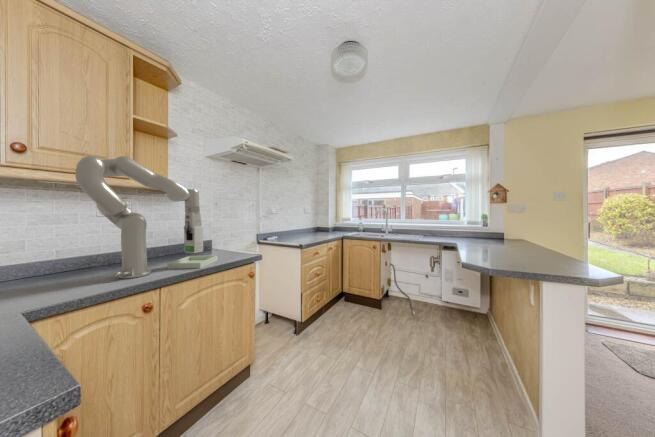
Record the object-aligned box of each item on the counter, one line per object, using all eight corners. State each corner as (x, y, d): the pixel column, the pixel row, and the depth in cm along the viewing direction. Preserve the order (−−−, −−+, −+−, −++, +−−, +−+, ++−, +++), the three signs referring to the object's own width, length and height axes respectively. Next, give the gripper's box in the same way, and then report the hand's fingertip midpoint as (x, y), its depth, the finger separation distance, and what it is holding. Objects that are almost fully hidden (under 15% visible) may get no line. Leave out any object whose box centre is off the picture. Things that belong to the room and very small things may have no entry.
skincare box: (184, 252, 134) (182, 226, 133) (193, 250, 140) (192, 225, 139) (195, 253, 131) (194, 226, 131) (204, 251, 138) (203, 226, 137)
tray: (200, 268, 126) (200, 262, 126) (167, 268, 125) (167, 263, 125) (217, 260, 146) (217, 255, 146) (189, 260, 146) (188, 256, 146)
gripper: (190, 210, 126) (191, 241, 127) (206, 209, 143) (207, 237, 144) (176, 210, 126) (178, 241, 126) (194, 210, 143) (195, 237, 144)
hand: (193, 239), depth 135 cm, fingers closed on skincare box, 7 cm apart
